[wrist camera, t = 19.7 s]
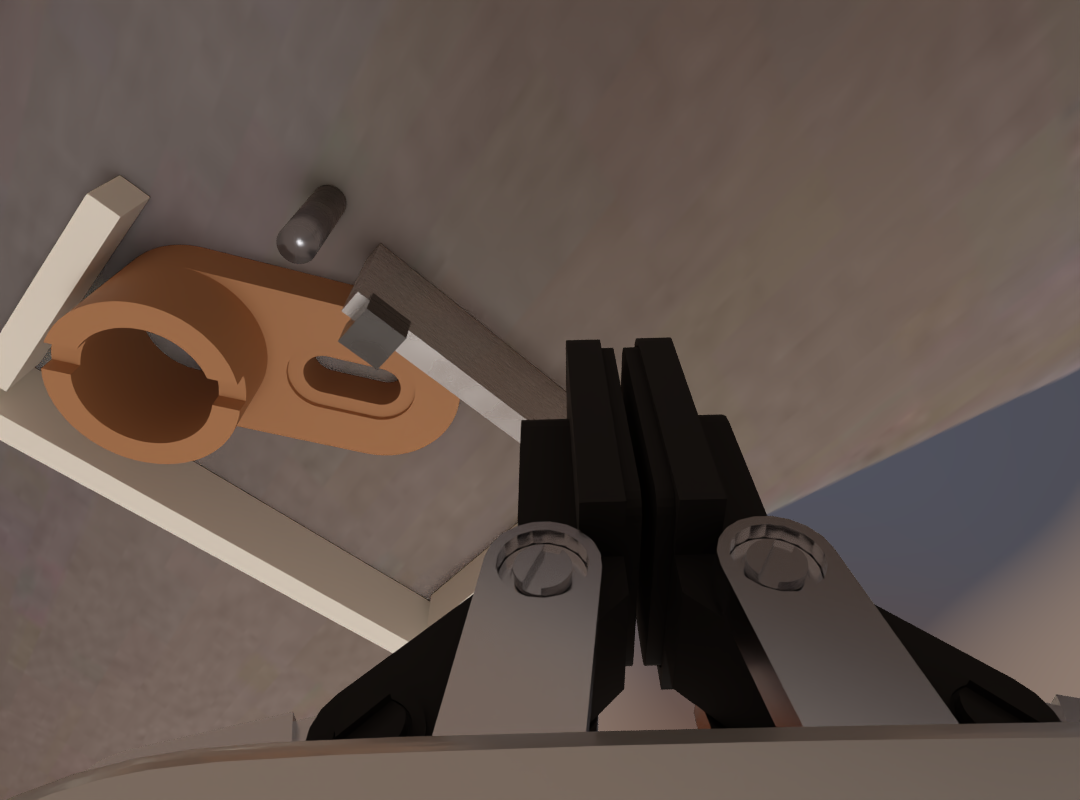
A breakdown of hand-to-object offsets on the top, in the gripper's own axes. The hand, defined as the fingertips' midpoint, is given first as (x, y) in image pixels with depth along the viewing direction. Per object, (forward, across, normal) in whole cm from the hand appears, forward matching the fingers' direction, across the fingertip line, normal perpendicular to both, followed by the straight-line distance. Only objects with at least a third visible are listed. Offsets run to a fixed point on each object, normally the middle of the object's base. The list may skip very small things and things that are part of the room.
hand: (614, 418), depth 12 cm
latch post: (+24, +11, +3) cm, 27 cm away
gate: (+24, +3, +12) cm, 27 cm away
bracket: (+24, +14, +11) cm, 30 cm away
